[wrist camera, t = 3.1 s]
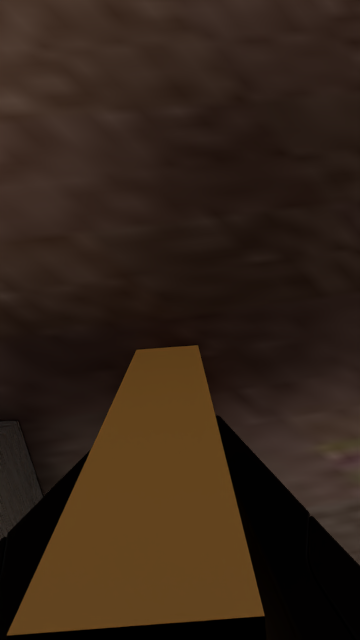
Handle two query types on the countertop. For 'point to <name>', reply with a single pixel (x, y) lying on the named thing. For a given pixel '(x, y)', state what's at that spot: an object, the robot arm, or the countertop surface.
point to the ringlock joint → (15, 477)
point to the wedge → (149, 524)
